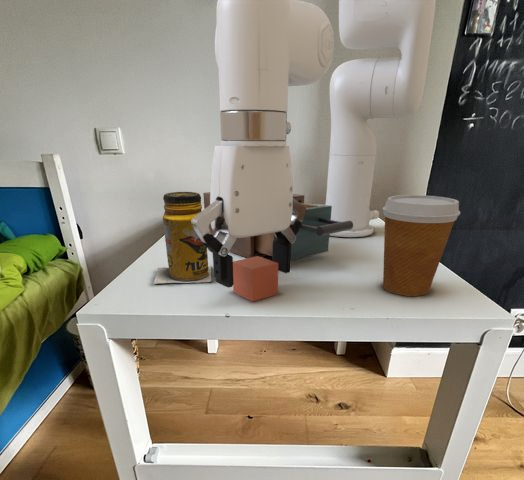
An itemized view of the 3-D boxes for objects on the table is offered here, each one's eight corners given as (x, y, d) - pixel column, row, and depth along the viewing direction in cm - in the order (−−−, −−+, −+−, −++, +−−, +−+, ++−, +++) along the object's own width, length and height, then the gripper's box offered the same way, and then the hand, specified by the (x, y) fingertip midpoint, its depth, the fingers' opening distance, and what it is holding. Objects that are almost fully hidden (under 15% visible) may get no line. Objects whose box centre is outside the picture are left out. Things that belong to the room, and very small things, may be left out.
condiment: (211, 282, 58) (206, 196, 52) (153, 284, 57) (141, 197, 51) (210, 267, 64) (205, 189, 58) (158, 269, 63) (147, 190, 57)
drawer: (357, 259, 65) (363, 211, 61) (309, 273, 59) (313, 219, 55) (278, 237, 79) (279, 197, 75) (232, 246, 72) (231, 202, 69)
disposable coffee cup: (358, 281, 58) (369, 196, 52) (411, 274, 61) (427, 193, 55) (398, 304, 50) (416, 207, 44) (456, 295, 53) (480, 203, 47)
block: (258, 285, 56) (257, 255, 54) (277, 294, 53) (278, 262, 51) (233, 292, 54) (232, 261, 52) (252, 301, 51) (252, 269, 49)
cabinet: (301, 247, 75) (304, 195, 71) (250, 259, 68) (249, 201, 64) (255, 234, 85) (255, 187, 80) (206, 243, 78) (203, 192, 74)
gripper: (287, 133, 51) (283, 260, 60) (169, 130, 42) (183, 282, 50) (329, 133, 46) (318, 272, 55) (206, 129, 37) (215, 299, 45)
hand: (254, 277), depth 52 cm, fingers open, 9 cm apart
